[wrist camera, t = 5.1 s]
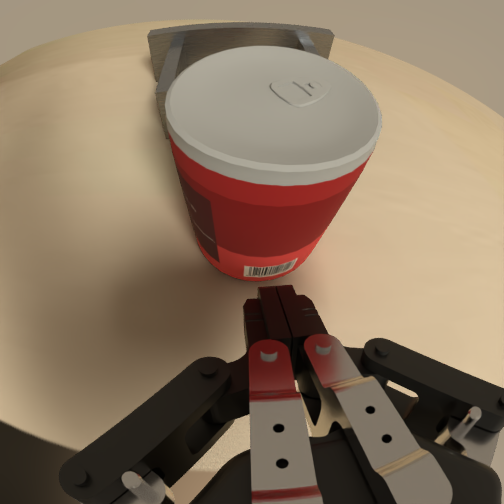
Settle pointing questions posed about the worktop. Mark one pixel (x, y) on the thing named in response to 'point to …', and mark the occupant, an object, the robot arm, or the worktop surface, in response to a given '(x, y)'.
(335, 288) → the worktop surface
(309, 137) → the canned food
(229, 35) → the keeper bracket
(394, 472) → the robot arm
